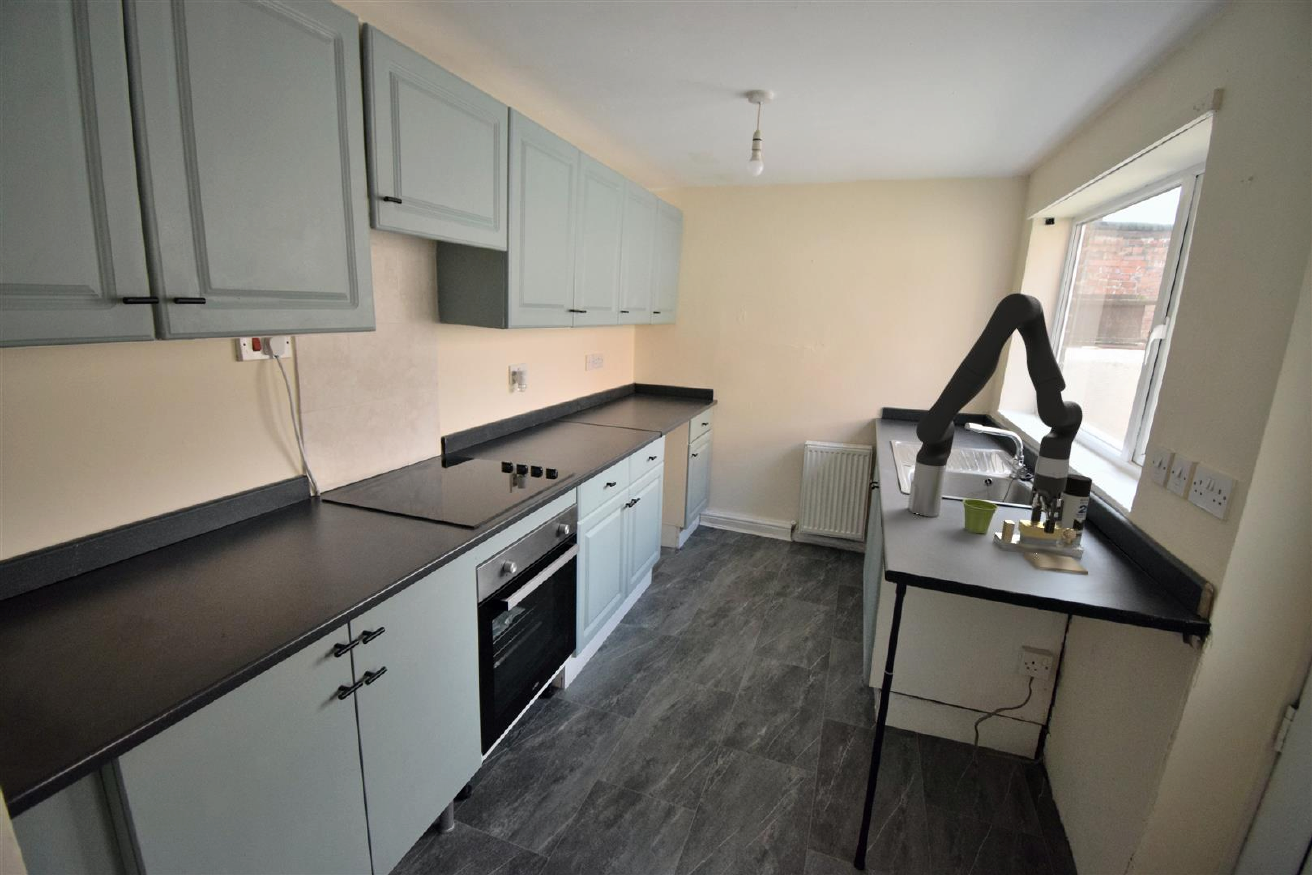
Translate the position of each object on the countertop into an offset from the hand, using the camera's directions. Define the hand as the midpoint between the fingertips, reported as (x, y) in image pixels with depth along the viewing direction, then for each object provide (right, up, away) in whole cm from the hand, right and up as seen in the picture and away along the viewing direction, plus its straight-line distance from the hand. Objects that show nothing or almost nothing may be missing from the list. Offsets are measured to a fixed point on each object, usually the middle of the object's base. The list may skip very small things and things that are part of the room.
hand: (1041, 527), depth 159 cm
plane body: (-1, -6, +2) cm, 7 cm away
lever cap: (0, -2, +1) cm, 2 cm away
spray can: (+13, -6, +8) cm, 16 cm away
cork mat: (-2, -9, -8) cm, 12 cm away
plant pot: (-10, -3, +15) cm, 18 cm away
